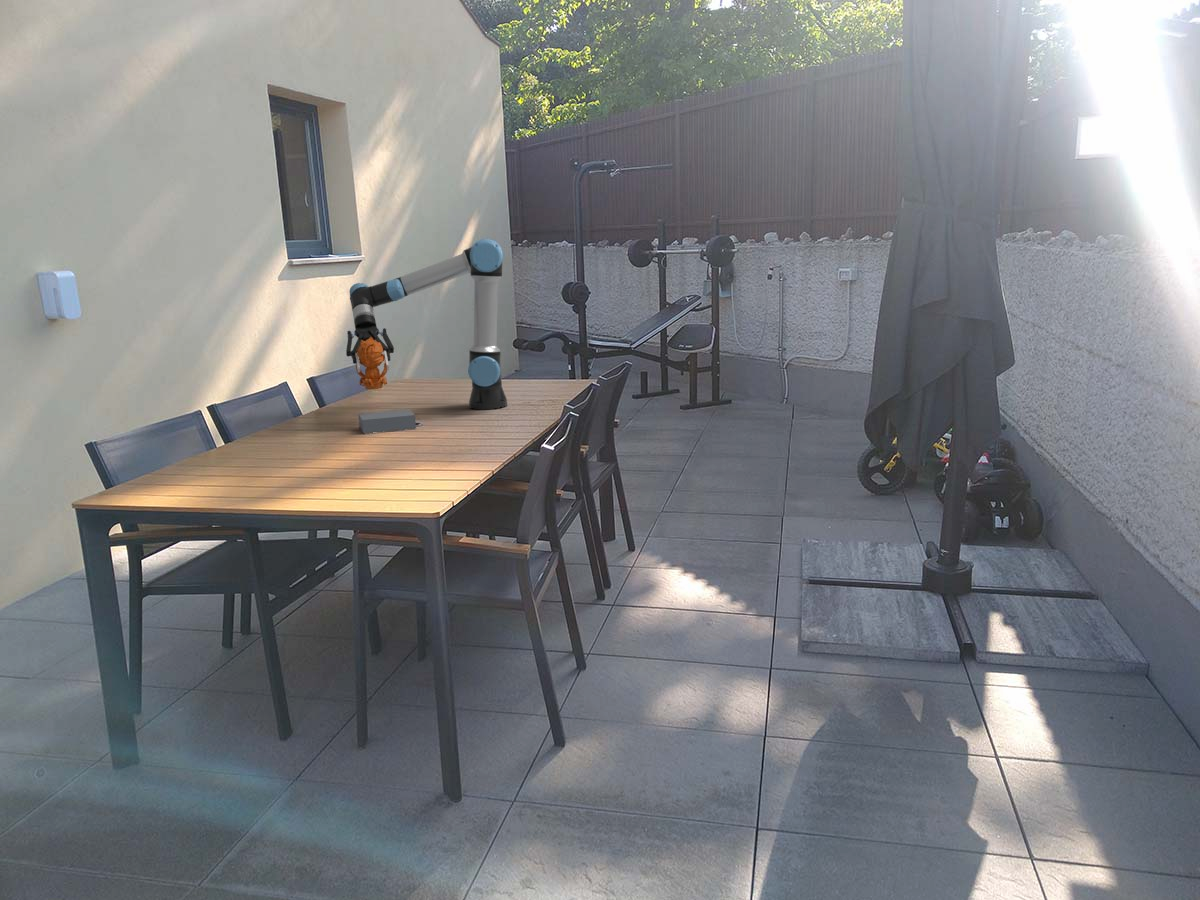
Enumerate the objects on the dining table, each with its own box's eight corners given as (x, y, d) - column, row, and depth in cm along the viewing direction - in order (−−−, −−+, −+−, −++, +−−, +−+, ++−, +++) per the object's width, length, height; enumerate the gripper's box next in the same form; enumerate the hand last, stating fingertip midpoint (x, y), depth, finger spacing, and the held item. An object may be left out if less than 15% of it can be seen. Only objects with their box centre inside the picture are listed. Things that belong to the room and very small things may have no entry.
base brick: (409, 422, 331) (408, 409, 330) (416, 428, 318) (415, 415, 317) (359, 427, 325) (358, 413, 324) (363, 434, 312) (362, 420, 311)
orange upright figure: (394, 385, 326) (389, 335, 322) (383, 390, 316) (379, 338, 312) (364, 385, 328) (360, 336, 323) (353, 390, 317) (348, 339, 313)
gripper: (394, 324, 335) (404, 372, 323) (333, 328, 328) (341, 377, 317) (395, 311, 328) (405, 359, 317) (333, 315, 322) (340, 364, 311)
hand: (373, 368), depth 317 cm, fingers closed on orange upright figure, 9 cm apart
